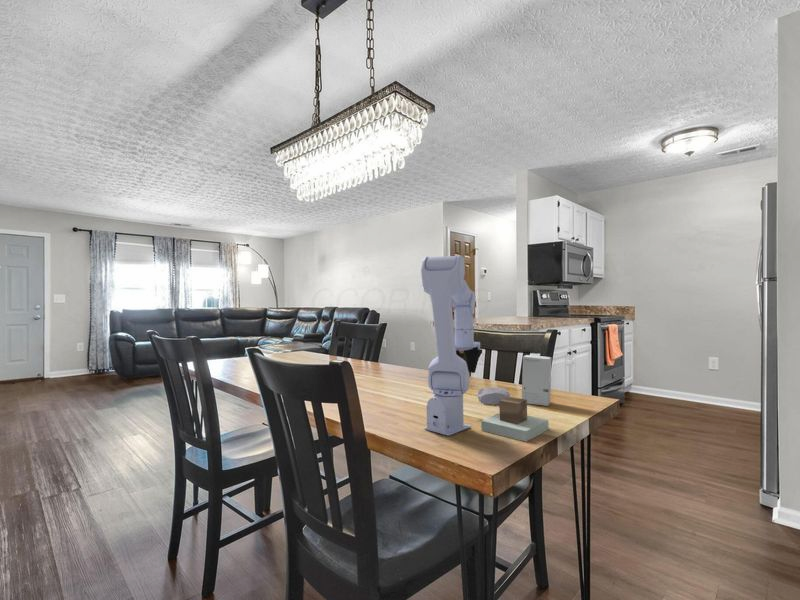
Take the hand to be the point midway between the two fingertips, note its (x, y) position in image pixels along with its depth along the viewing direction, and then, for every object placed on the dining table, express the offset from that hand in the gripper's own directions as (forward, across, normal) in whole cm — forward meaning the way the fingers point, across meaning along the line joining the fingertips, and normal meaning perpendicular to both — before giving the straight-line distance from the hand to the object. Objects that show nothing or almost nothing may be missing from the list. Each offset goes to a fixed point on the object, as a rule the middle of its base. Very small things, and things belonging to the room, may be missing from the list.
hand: (464, 374), depth 121 cm
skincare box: (+11, +21, -13) cm, 27 cm away
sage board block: (+11, -8, -21) cm, 25 cm away
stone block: (+11, +14, -1) cm, 18 cm away
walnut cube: (+8, -8, -21) cm, 24 cm away
